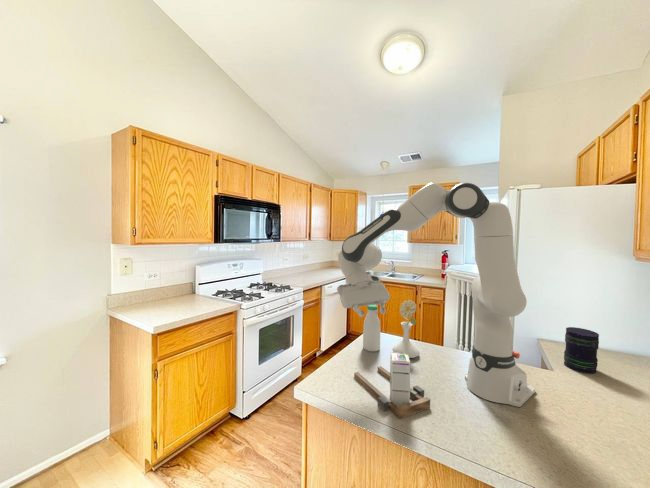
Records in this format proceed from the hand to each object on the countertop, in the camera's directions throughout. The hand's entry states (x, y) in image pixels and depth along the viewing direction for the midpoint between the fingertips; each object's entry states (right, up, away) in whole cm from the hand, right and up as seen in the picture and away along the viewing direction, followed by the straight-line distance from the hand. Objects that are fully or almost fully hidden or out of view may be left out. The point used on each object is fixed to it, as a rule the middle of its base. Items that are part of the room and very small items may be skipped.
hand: (373, 314), depth 99 cm
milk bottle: (+4, -22, +25) cm, 34 cm away
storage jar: (+85, -24, +10) cm, 89 cm away
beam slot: (+4, -24, -7) cm, 25 cm away
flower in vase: (+18, -23, +19) cm, 35 cm away
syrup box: (+6, -24, -13) cm, 28 cm away
